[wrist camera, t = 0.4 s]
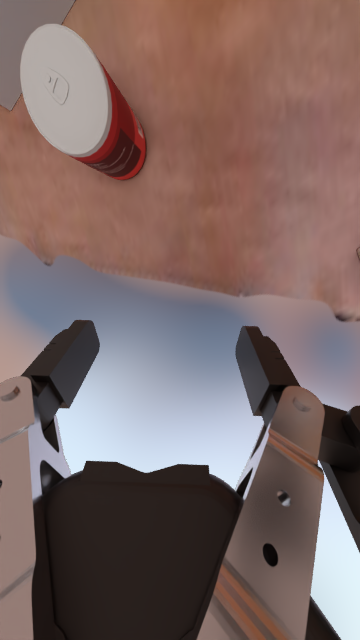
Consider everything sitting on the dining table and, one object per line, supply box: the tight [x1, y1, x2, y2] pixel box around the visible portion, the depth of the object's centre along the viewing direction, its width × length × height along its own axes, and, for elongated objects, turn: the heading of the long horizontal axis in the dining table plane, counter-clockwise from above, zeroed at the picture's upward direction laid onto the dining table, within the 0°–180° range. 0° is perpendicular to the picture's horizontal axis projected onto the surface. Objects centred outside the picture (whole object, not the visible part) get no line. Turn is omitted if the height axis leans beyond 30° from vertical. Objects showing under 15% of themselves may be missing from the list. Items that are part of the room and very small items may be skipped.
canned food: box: [20, 24, 146, 180], centre depth 20 cm, size 8×8×11 cm
